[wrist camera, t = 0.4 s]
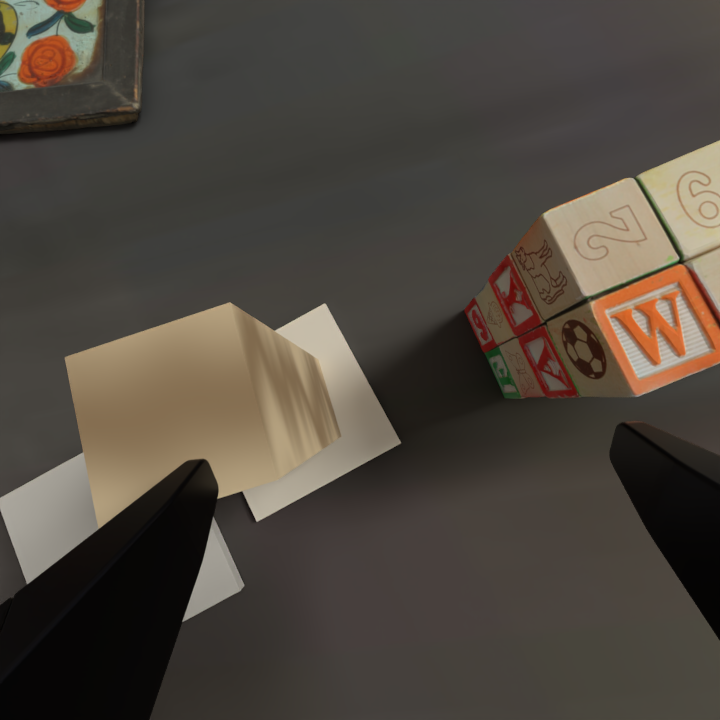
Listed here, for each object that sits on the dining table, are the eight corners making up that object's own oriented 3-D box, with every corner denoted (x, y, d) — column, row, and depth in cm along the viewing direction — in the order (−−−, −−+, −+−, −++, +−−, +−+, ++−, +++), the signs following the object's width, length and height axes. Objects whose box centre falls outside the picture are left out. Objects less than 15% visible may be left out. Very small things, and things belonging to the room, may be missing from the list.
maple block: (341, 436, 22) (277, 480, 9) (264, 460, 22) (99, 535, 10) (318, 359, 23) (229, 302, 10) (244, 383, 23) (64, 357, 10)
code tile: (401, 442, 22) (401, 443, 22) (259, 519, 22) (256, 522, 22) (326, 304, 24) (325, 303, 23) (192, 378, 24) (189, 377, 24)
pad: (244, 585, 22) (240, 590, 21) (72, 678, 22) (63, 686, 22) (165, 410, 24) (160, 410, 23) (6, 497, 24) (-4, 499, 23)
